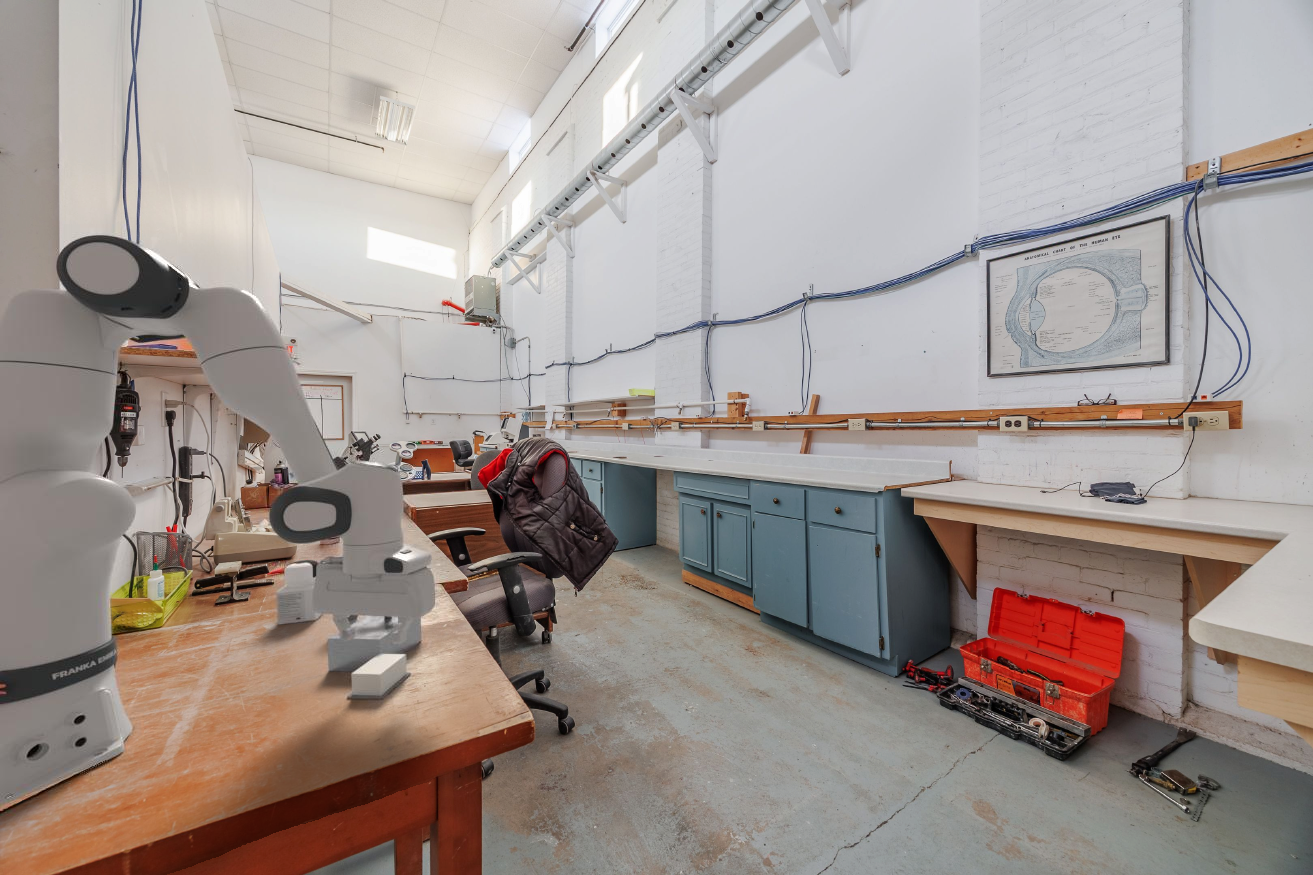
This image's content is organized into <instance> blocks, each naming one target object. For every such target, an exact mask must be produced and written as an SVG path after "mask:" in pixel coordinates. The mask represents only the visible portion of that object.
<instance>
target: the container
mask: <svg viewBox="0 0 1313 875" xmlns="http://www.w3.org/2000/svg"><path fill="white" fill-rule="evenodd" d="M317 564H319V562H318V561H317V560H312V559H307V560H306V559H304V560H298V561H294V562H290V563H289V564H286V565H285V567H284V569H283V570H284V572H283V574H284V586H283V587H281V588H279V589H278V590H277V591H276V593H275V595H276V597H275V598H276V620H277V621H276V623H277V625H287V624H294V623H303V622H311V621H316V620H317V619H319V617H320V616H322V614H317V613H316V612H315V611H314V610H313V608H312V596H313V588H314V583H315V578H316V567H317Z"/></svg>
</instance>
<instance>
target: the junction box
mask: <svg viewBox="0 0 1313 875" xmlns="http://www.w3.org/2000/svg"><path fill="white" fill-rule="evenodd" d="M421 620H422V617H420V618H414V619H413V621H412V623H411V624H410V626H409V628H408V629H407V639H406V641H405V642H403V643H392V639H393V638H392V633H393V632H395V631H397V630H398V629H399V627H400V625H401V623H398V617H391V618H387V619H386V618H384V616H364V617H362V618H360V619H358V620H357V622H355V623H353V624H352V625H351V627H355V637H354V638H353V639H351V640H350V641H342V640H340V630H338V632H336V633H334V634H333V635H331V636H329V637H327V657H328V658H327V660H328V661H327V662H328V663H327V664H328V665H327V666H328V671H329V672H351V673H353V672H354V671H356V670H357V669H359V668H360V667H361V666H363V665H364V664H366V663H367V662H368V661H370V660H371V659H373V658H374V657H375V656H377V655H378V654H406V653H407V652H408V651H410V650H411V649H412V648H414V647H415V646H417V645H418V644H419V643H420V642H421V641H422V621H421Z"/></svg>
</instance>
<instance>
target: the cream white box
mask: <svg viewBox="0 0 1313 875" xmlns="http://www.w3.org/2000/svg"><path fill="white" fill-rule="evenodd" d="M407 673H408V672H407V654H406V653H405V654H378V655H377V656H375V657H374V658H373V659H371V660H370V661H368V662H367V663H366V664H364V665H363V666H361V667H360V668H359V669H357V670H356V671H354V672H351V693H352V695H379V696H381V695H382V694H383V693H385V692H386V691H387V690H388V689H389V688H390V687H392V686H393V685H394V684H395V683H396V682H398V681H399V680H400V679H401V678H402V677H403V676H405V675H406V674H407Z"/></svg>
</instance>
